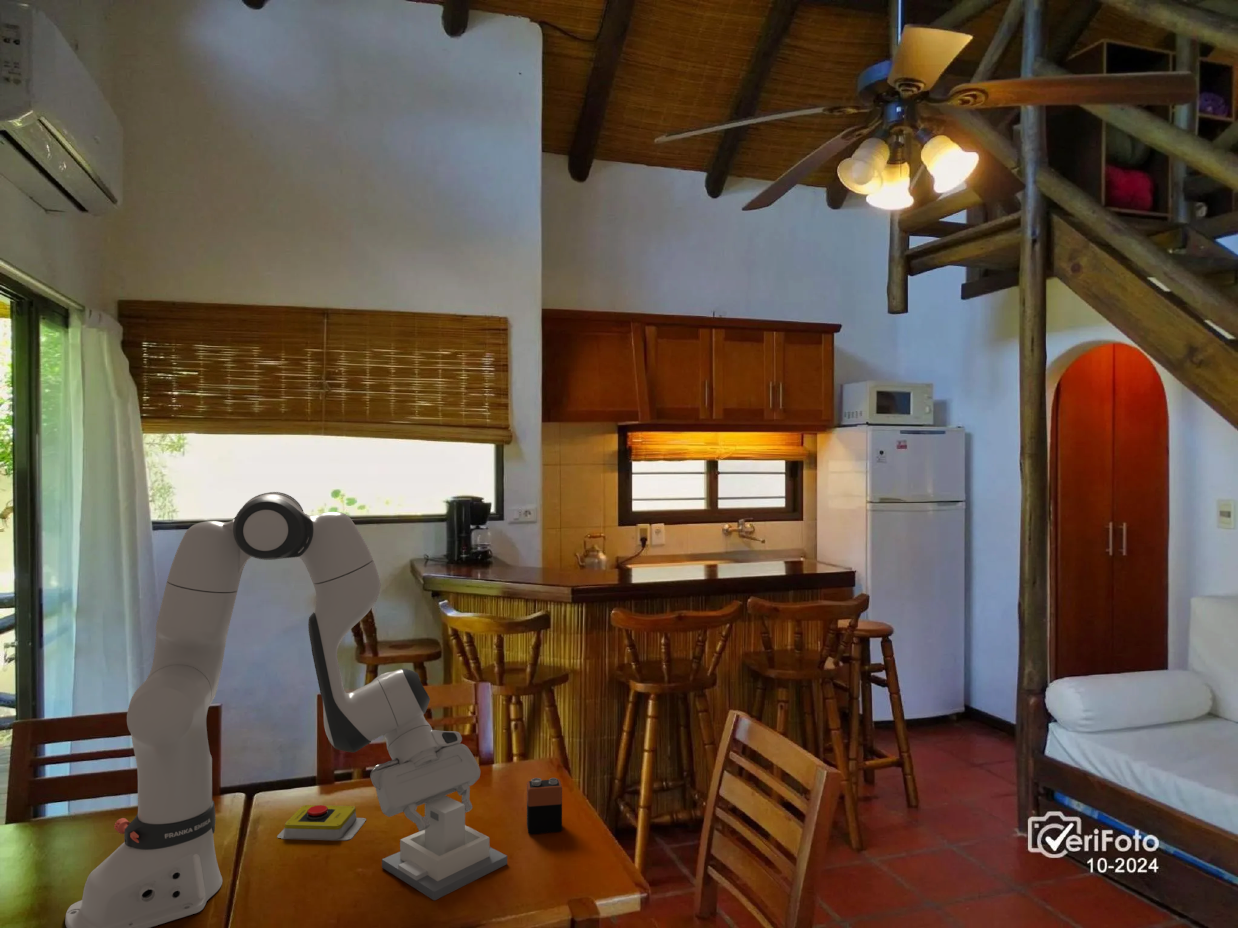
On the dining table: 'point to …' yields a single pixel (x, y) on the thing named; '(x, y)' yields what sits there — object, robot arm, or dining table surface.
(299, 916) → the dining table surface
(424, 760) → the robot arm
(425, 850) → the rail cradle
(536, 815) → the battery
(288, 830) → the emergency button
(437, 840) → the block
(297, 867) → the dining table surface
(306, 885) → the dining table surface
